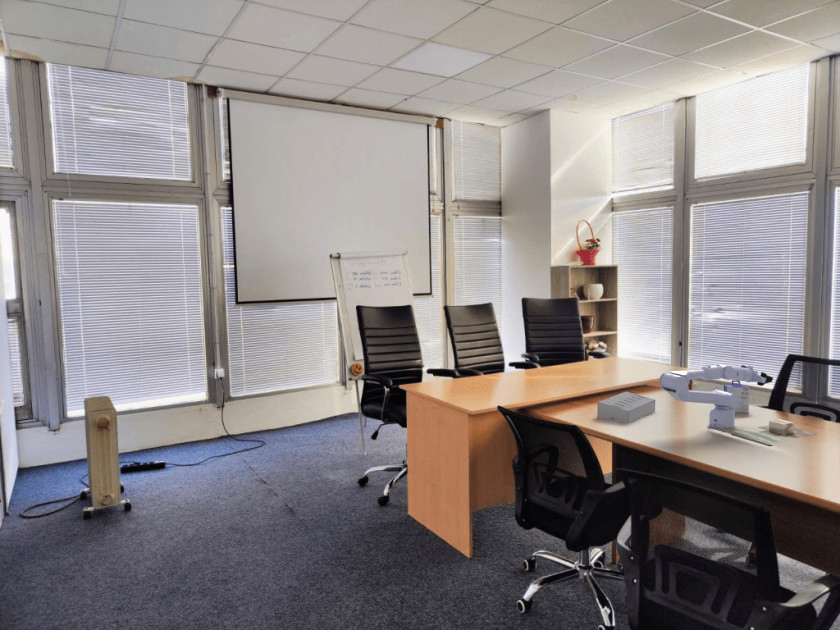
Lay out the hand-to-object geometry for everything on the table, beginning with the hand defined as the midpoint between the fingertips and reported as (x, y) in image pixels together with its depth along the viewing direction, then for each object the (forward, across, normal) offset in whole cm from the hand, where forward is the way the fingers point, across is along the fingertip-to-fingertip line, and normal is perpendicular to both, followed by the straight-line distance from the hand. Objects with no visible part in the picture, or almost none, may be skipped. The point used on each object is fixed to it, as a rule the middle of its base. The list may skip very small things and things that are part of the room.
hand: (764, 376), depth 239 cm
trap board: (-8, -18, +20) cm, 28 cm away
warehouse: (-40, +29, +32) cm, 59 cm away
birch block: (-4, -17, +18) cm, 25 cm away
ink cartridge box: (+11, +18, +22) cm, 30 cm away
